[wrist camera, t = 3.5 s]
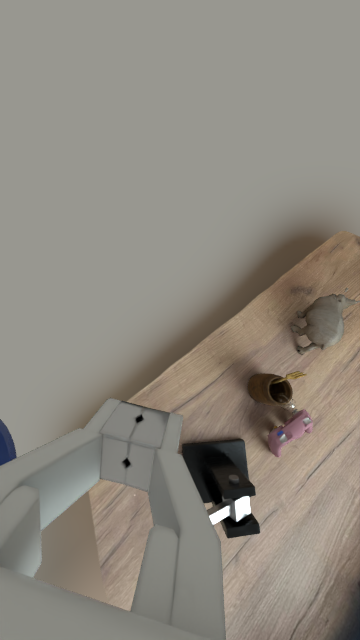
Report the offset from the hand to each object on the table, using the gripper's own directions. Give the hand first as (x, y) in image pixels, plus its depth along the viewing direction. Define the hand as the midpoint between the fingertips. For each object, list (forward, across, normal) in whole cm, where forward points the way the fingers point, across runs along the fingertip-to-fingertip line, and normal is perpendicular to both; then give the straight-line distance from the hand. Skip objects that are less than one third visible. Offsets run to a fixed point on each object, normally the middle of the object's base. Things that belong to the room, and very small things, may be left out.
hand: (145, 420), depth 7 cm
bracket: (+23, +10, -29) cm, 38 cm away
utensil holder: (+33, +17, -16) cm, 40 cm away
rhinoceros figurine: (+43, +28, -2) cm, 52 cm away
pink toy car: (+30, +22, -22) cm, 43 cm away
